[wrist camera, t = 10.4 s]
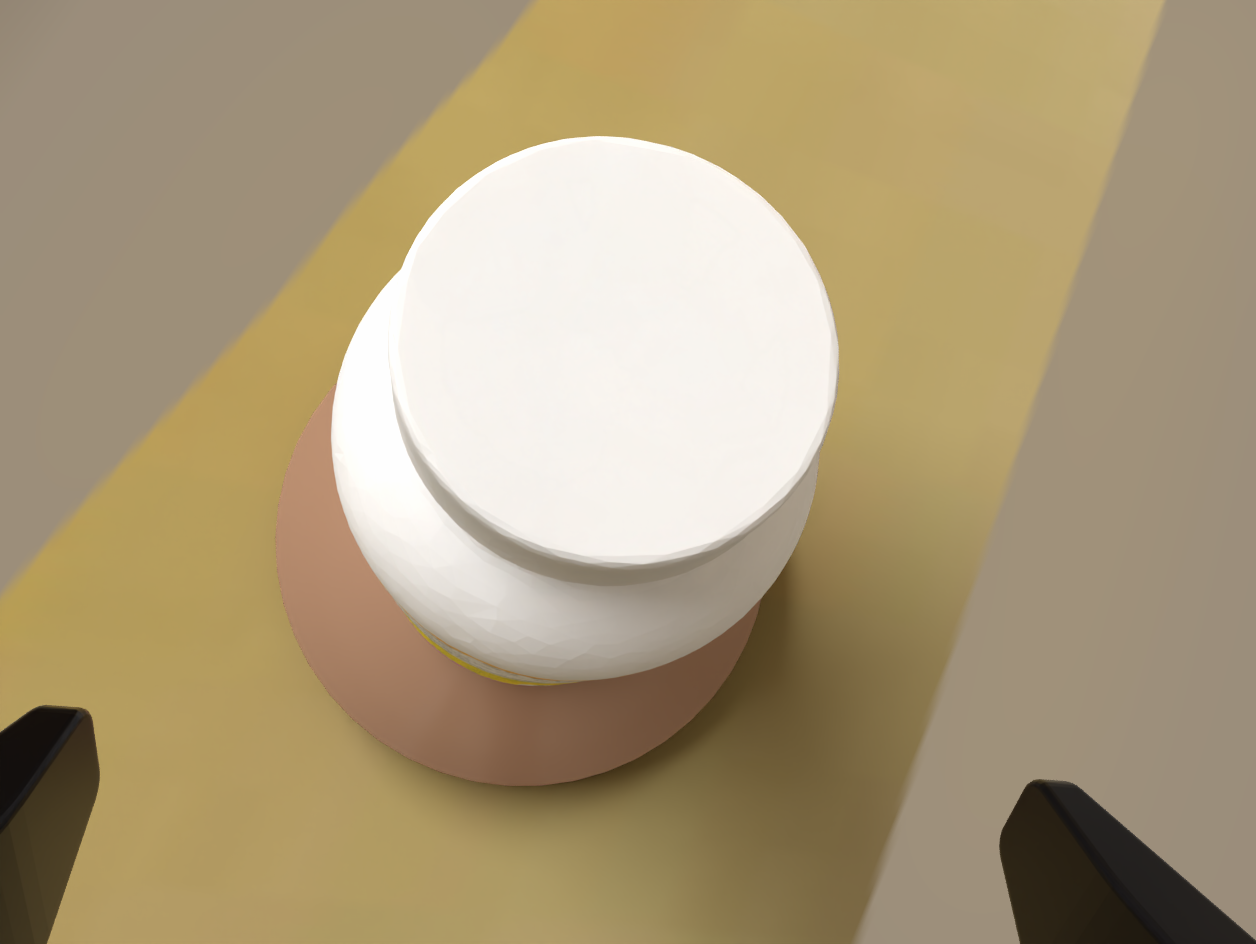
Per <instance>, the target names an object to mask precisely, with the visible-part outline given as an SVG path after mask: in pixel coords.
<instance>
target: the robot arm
mask: <svg viewBox="0 0 1256 944" xmlns="http://www.w3.org/2000/svg"><path fill="white" fill-rule="evenodd" d="M99 781H100V769H99V762H98V755H97V748H96V741H95V734H94V727H93V721H92V717H91V715H90V713H89V712H88V711H87V710H86V709H83V708H79V707H66V706H52V705H42V706H38V707H36V708H34V709H32V710H30V711H29V712H27V713H26V714H25V715H23V716H22V717H20V718H19V719H18V720H16V721H15V722H13V723H12V724H11V725H9V726H8V727H7V728H5V729H4V730H2V731H1V732H0V944H47V942H48V939H49V936H50V933H51V930H52V927H53V924H54V921H55V918H56V915H57V912H58V909H59V906H60V903H61V901H62V898H63V895H64V892H65V889H66V886H67V883H68V880H69V877H70V874H71V871H72V868H73V865H74V862H75V859H76V856H77V853H78V850H79V847H80V844H81V841H82V838H83V835H84V832H85V829H86V826H87V823H88V821H89V818H90V815H91V812H92V809H93V806H94V803H95V800H96V796H97V792H98V788H99ZM999 847H1000V857H1001V862H1002V866H1003V870H1004V875H1005V879H1006V883H1007V888H1008V892H1009V897H1010V901H1011V906H1012V910H1013V914H1014V919H1015V923H1016V928H1017V932H1018V936H1019V941H1020V944H1256V940H1255V939H1253V938H1252V937H1251V936H1250V935H1249V934H1248V933H1247V932H1245V931H1244V930H1243V929H1242V928H1241V927H1240V926H1239V925H1237V924H1236V923H1235V922H1234V921H1233V920H1231V919H1230V918H1229V917H1228V916H1227V915H1226V914H1225V913H1224V912H1222V911H1221V910H1220V909H1219V908H1218V907H1216V905H1214V904H1213V903H1212V902H1211V901H1210V900H1209V899H1207V898H1206V897H1205V896H1204V895H1203V894H1202V893H1200V892H1199V891H1198V890H1197V889H1196V888H1195V887H1194V886H1192V885H1191V884H1190V883H1189V882H1188V881H1187V880H1186V879H1184V878H1183V877H1182V876H1181V875H1180V874H1179V873H1177V872H1176V871H1175V870H1174V869H1173V868H1172V867H1171V866H1169V865H1168V864H1167V863H1166V862H1164V860H1163V859H1161V858H1160V857H1159V856H1158V855H1157V854H1156V853H1154V852H1153V851H1152V850H1151V849H1150V848H1149V847H1147V846H1146V845H1145V844H1144V843H1143V842H1142V841H1141V840H1139V839H1138V838H1137V837H1136V836H1135V835H1134V834H1133V833H1131V832H1130V831H1129V830H1127V828H1126V827H1124V826H1123V825H1122V824H1121V823H1120V822H1119V821H1118V820H1116V819H1115V818H1114V817H1113V816H1112V815H1111V814H1109V813H1108V812H1107V811H1106V810H1105V809H1103V808H1102V807H1101V806H1100V805H1099V804H1098V803H1097V802H1095V801H1094V800H1093V799H1092V798H1091V797H1090V796H1089V795H1088V794H1086V793H1085V792H1084V791H1083V790H1082V789H1080V788H1079V787H1078V786H1077V785H1075V784H1073V783H1070V782H1066V781H1055V780H1042V779H1038V780H1033V781H1032V782H1030V783H1029V784H1027V786H1026V787H1025V789H1024V790H1023V792H1022V794H1021V796H1020V798H1019V800H1018V801H1017V804H1016V805H1015V807H1014V809H1013V811H1012V813H1011V815H1010V816H1009V818H1008V820H1007V822H1006V824H1005V826H1004V827H1003V829H1002V832H1001V837H1000V845H999Z"/></svg>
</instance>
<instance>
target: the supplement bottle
mask: <svg viewBox="0 0 1256 944" xmlns="http://www.w3.org/2000/svg"><path fill="white" fill-rule="evenodd" d="M838 379H839V348H838V335H837V329H836V324H835V319H834V315H833V311H832V307H831V304H830V300H829V297H828V294H827V292H826V289H825V287H824V284H823V281H822V279H821V276H820V274H819V272H818V270H817V268H816V266H815V264H814V262H813V260H812V259H811V257H810V255H809V253H808V251H807V249H806V247H805V246H804V244H803V243H802V242H801V240H800V239H799V238H798V236H797V235H796V234H795V233H794V231H793V230H792V229H791V227H790V226H789V225H788V224H787V222H786V221H785V220H784V218H783V217H782V216H781V215H780V214H779V213H778V212H777V211H776V210H775V209H774V208H773V207H772V206H771V205H770V204H769V203H768V202H767V201H766V200H765V199H764V198H763V197H762V196H760V195H759V194H758V193H757V192H755V191H754V190H753V189H751V188H750V187H749V186H747V185H746V184H745V183H743V182H742V181H741V180H739V179H738V178H737V177H735V176H733V175H732V174H730V173H729V172H727V171H725V170H724V169H722V168H720V167H719V166H717V165H714V164H712V163H710V162H708V161H706V160H704V159H702V158H700V157H697V156H695V155H693V154H690V153H687V152H684V151H682V150H679V149H676V148H673V147H669V146H665V145H660V144H656V143H651V142H647V141H642V140H637V139H631V138H622V137H602V136H595V137H582V138H571V139H562V140H559V141H554V142H549V143H545V144H541V145H538V146H534V147H531V148H528V149H525V150H523V151H520V152H518V153H515V154H512V155H510V156H508V157H506V158H504V159H502V160H500V161H498V162H496V163H494V164H492V165H491V166H489V167H487V168H486V169H484V170H483V171H481V172H479V173H478V174H476V175H475V176H473V177H472V178H471V179H469V180H468V181H467V182H465V183H464V184H463V185H461V186H460V187H459V188H457V189H456V190H455V191H454V192H453V193H452V194H451V195H450V196H449V197H448V198H447V199H446V200H445V201H444V202H443V203H442V204H441V205H440V207H439V208H438V209H437V210H436V211H435V212H434V213H433V215H432V216H431V217H430V218H429V220H428V221H427V223H426V224H425V226H424V227H423V229H422V230H421V231H420V233H419V234H418V236H417V237H416V239H415V241H414V243H413V245H412V247H411V249H410V250H409V252H408V254H407V256H406V259H405V261H404V264H403V266H402V269H401V270H400V271H399V272H398V273H397V274H396V275H395V276H394V277H393V278H392V279H391V281H390V282H389V283H388V284H387V285H386V286H385V287H384V289H383V290H382V291H381V292H380V294H379V295H378V296H377V298H376V299H375V301H374V302H373V303H372V305H371V306H370V308H369V309H368V311H367V313H366V314H365V316H364V317H363V319H362V321H361V322H360V324H359V326H358V328H357V330H356V332H355V334H354V336H353V338H352V340H351V343H350V345H349V347H348V350H347V352H346V355H345V357H344V361H343V364H342V367H341V371H340V374H339V377H338V382H337V386H336V391H335V397H334V403H333V411H332V426H331V445H332V458H333V466H334V473H335V479H336V485H337V490H338V494H339V497H340V501H341V504H342V507H343V511H344V513H345V516H346V519H347V521H348V524H349V527H350V530H351V532H352V534H353V536H354V538H355V540H356V542H357V544H358V546H359V548H360V550H361V552H362V554H363V556H364V557H365V559H366V561H367V562H368V564H369V566H370V567H371V569H372V570H373V572H374V573H375V575H376V576H377V578H378V579H379V581H380V582H381V584H382V585H383V586H384V588H385V589H386V590H387V591H388V592H389V594H390V595H391V596H392V597H393V599H394V600H395V602H396V603H397V605H398V606H399V607H400V608H401V609H402V611H403V612H404V613H405V615H406V616H407V618H408V619H409V620H410V622H411V623H412V624H413V625H414V627H415V628H416V629H417V630H418V632H419V633H420V634H421V635H422V636H423V637H424V638H425V639H426V640H427V641H428V642H429V643H430V644H431V645H432V646H433V647H434V648H435V649H437V650H438V651H439V652H440V653H442V654H443V655H444V656H446V657H447V658H449V659H450V660H452V661H453V662H455V663H456V664H458V665H460V666H462V667H464V668H466V669H468V670H470V671H472V672H474V673H476V674H479V675H481V676H483V677H486V678H488V679H492V680H495V681H499V682H503V683H508V684H514V685H525V686H550V685H559V684H568V683H577V682H581V681H589V680H600V679H609V678H616V677H621V676H626V675H630V674H635V673H639V672H642V671H646V670H650V669H653V668H656V667H659V666H661V665H664V664H667V663H670V662H672V661H674V660H677V659H679V658H681V657H684V656H686V655H688V654H690V653H692V652H694V651H696V650H698V649H699V648H701V647H703V646H704V645H706V644H708V643H709V642H711V641H712V640H714V639H715V638H717V637H718V636H720V635H721V634H723V633H724V632H725V631H727V630H728V629H729V628H730V627H732V626H733V625H734V624H735V623H736V622H738V621H739V620H740V619H741V618H743V617H744V616H745V615H746V614H747V612H748V611H749V610H750V609H751V608H752V607H753V606H754V605H755V604H756V603H757V602H758V601H759V600H760V599H761V598H762V597H763V595H764V594H765V593H766V592H767V590H768V589H769V588H770V587H771V586H772V584H773V583H774V582H775V580H776V579H777V577H778V576H779V574H780V573H781V571H782V569H783V568H784V566H785V565H786V563H787V562H788V560H789V558H790V556H791V555H792V553H793V551H794V549H795V547H796V545H797V543H798V541H799V538H800V536H801V534H802V531H803V529H804V526H805V523H806V521H807V518H808V515H809V512H810V508H811V504H812V501H813V497H814V492H815V487H816V482H817V473H818V464H819V455H820V450H821V448H822V446H823V443H824V440H825V437H826V434H827V431H828V428H829V425H830V421H831V418H832V415H833V412H834V407H835V402H836V398H837V389H838Z"/></svg>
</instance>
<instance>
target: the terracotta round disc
mask: <svg viewBox="0 0 1256 944" xmlns="http://www.w3.org/2000/svg"><path fill="white" fill-rule="evenodd" d="M336 386H337V383H336V384H335V385H334V386H333V387H332V388H331V390H330V391H329V392H328V394H327V395H326V396H325V398H324V399H323V401H322V402H321V403H320V405H319V406H318V407H317V409H316V410H315V412H314V413H313V414H312V416H311V418H310V420H309V422H308V424H307V425H306V427H305V429H304V431H303V433H302V435H301V436H300V438H299V440H298V442H297V445H296V447H295V450H294V452H293V455H292V458H291V460H290V463H289V466H288V468H287V471H286V474H285V478H284V483H283V487H282V491H281V496H280V500H279V504H278V515H277V526H276V557H277V572H278V578H279V583H280V588H281V593H282V599H283V604H284V607H285V610H286V613H287V615H288V618H289V621H290V624H291V627H292V630H293V633H294V636H295V638H296V640H297V642H298V644H299V646H300V648H301V650H302V652H303V654H304V656H305V658H306V660H307V662H308V664H309V666H310V667H311V668H312V670H313V671H314V673H315V674H316V676H317V677H318V679H319V680H320V681H321V683H322V684H323V686H324V687H325V689H326V690H327V692H328V693H329V694H330V695H331V696H332V697H333V699H334V700H335V701H336V702H337V703H338V704H339V705H340V706H341V707H342V708H343V709H344V710H345V712H346V713H347V714H348V715H349V716H350V717H351V718H352V719H353V720H354V721H356V722H357V723H358V724H359V725H360V726H362V727H363V728H364V729H365V730H367V731H368V732H369V733H370V734H371V735H373V736H374V737H375V738H376V739H378V740H379V741H380V742H382V743H384V744H385V745H387V746H389V747H390V748H392V749H394V750H395V751H397V752H399V753H400V754H402V755H403V756H405V757H407V758H408V759H411V760H413V761H415V762H418V763H420V764H422V765H425V766H427V767H429V768H432V769H434V770H436V771H439V772H442V773H445V774H449V775H452V776H456V777H460V778H463V779H467V780H470V781H475V782H483V783H490V784H498V785H505V786H541V785H549V784H556V783H563V782H570V781H576V780H579V779H583V778H586V777H590V776H593V775H597V774H600V773H604V772H607V771H609V770H612V769H614V768H616V767H619V766H621V765H623V764H626V763H628V762H630V761H632V760H635V759H637V758H639V757H640V756H642V755H644V754H645V753H647V752H649V751H650V750H652V749H654V748H655V747H657V746H659V745H660V744H662V743H663V742H665V741H666V740H668V739H669V738H670V737H671V736H673V735H674V734H675V733H676V732H678V731H679V730H680V729H681V728H682V727H684V726H685V725H686V724H687V723H689V722H690V721H691V720H692V719H693V718H694V717H695V716H696V715H697V714H698V713H699V712H700V711H701V709H702V708H703V707H704V706H705V705H706V704H707V703H708V702H709V701H710V700H711V699H712V698H713V697H714V695H715V694H716V692H717V691H718V690H719V688H720V687H721V686H722V684H723V683H724V681H725V680H726V679H727V677H728V676H729V674H730V673H731V672H732V670H733V668H734V666H735V664H736V662H737V661H738V659H739V657H740V655H741V653H742V651H743V649H744V648H745V646H746V644H747V641H748V639H749V636H750V633H751V631H752V628H753V625H754V623H755V620H756V618H757V615H758V611H759V607H760V602H761V599H760V600H759V601H758V602H757V603H756V604H755V605H754V606H753V607H752V608H751V609H750V610H749V611H748V612H747V614H746V615H745V616H744V617H743V618H741V619H740V620H739V621H738V622H736V623H735V624H734V625H733V626H732V627H730V628H729V629H728V630H727V631H725V632H724V633H723V634H721V635H720V636H718V637H717V638H715V639H714V640H712V641H711V642H709V643H708V644H706V645H704V646H703V647H701V648H699V649H698V650H696V651H694V652H692V653H690V654H688V655H686V656H684V657H681V658H679V659H677V660H674V661H672V662H670V663H667V664H664V665H661V666H659V667H656V668H653V669H650V670H646V671H642V672H639V673H635V674H630V675H626V676H621V677H616V678H609V679H600V680H589V681H581V682H577V683H568V684H559V685H550V686H525V685H514V684H508V683H503V682H499V681H495V680H492V679H488V678H486V677H483V676H481V675H479V674H476V673H474V672H472V671H470V670H468V669H466V668H464V667H462V666H460V665H458V664H456V663H455V662H453V661H452V660H450V659H449V658H447V657H446V656H444V655H443V654H442V653H440V652H439V651H438V650H437V649H435V648H434V647H433V646H432V645H431V644H430V643H429V642H428V641H427V640H426V639H425V638H424V637H423V636H422V635H421V634H420V633H419V632H418V630H417V629H416V628H415V627H414V625H413V624H412V623H411V622H410V620H409V619H408V618H407V616H406V615H405V613H404V612H403V611H402V609H401V608H400V607H399V606H398V605H397V603H396V602H395V600H394V599H393V597H392V596H391V595H390V594H389V592H388V591H387V590H386V589H385V588H384V586H383V585H382V584H381V582H380V581H379V579H378V578H377V576H376V575H375V573H374V572H373V570H372V569H371V567H370V566H369V564H368V562H367V561H366V559H365V557H364V556H363V554H362V552H361V550H360V548H359V546H358V544H357V542H356V540H355V538H354V536H353V534H352V532H351V530H350V527H349V524H348V521H347V519H346V516H345V513H344V511H343V507H342V504H341V501H340V497H339V494H338V490H337V485H336V479H335V473H334V466H333V458H332V445H331V426H332V411H333V403H334V397H335V391H336Z"/></svg>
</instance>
